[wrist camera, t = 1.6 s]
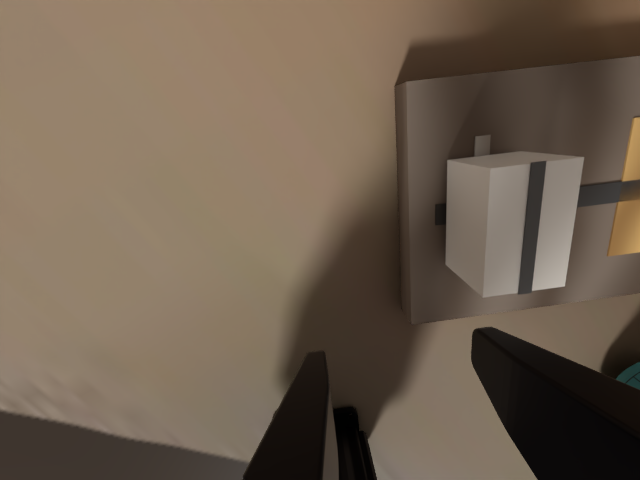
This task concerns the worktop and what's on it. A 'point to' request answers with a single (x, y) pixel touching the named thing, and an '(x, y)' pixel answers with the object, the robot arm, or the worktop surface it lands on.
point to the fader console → (530, 136)
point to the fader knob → (511, 220)
